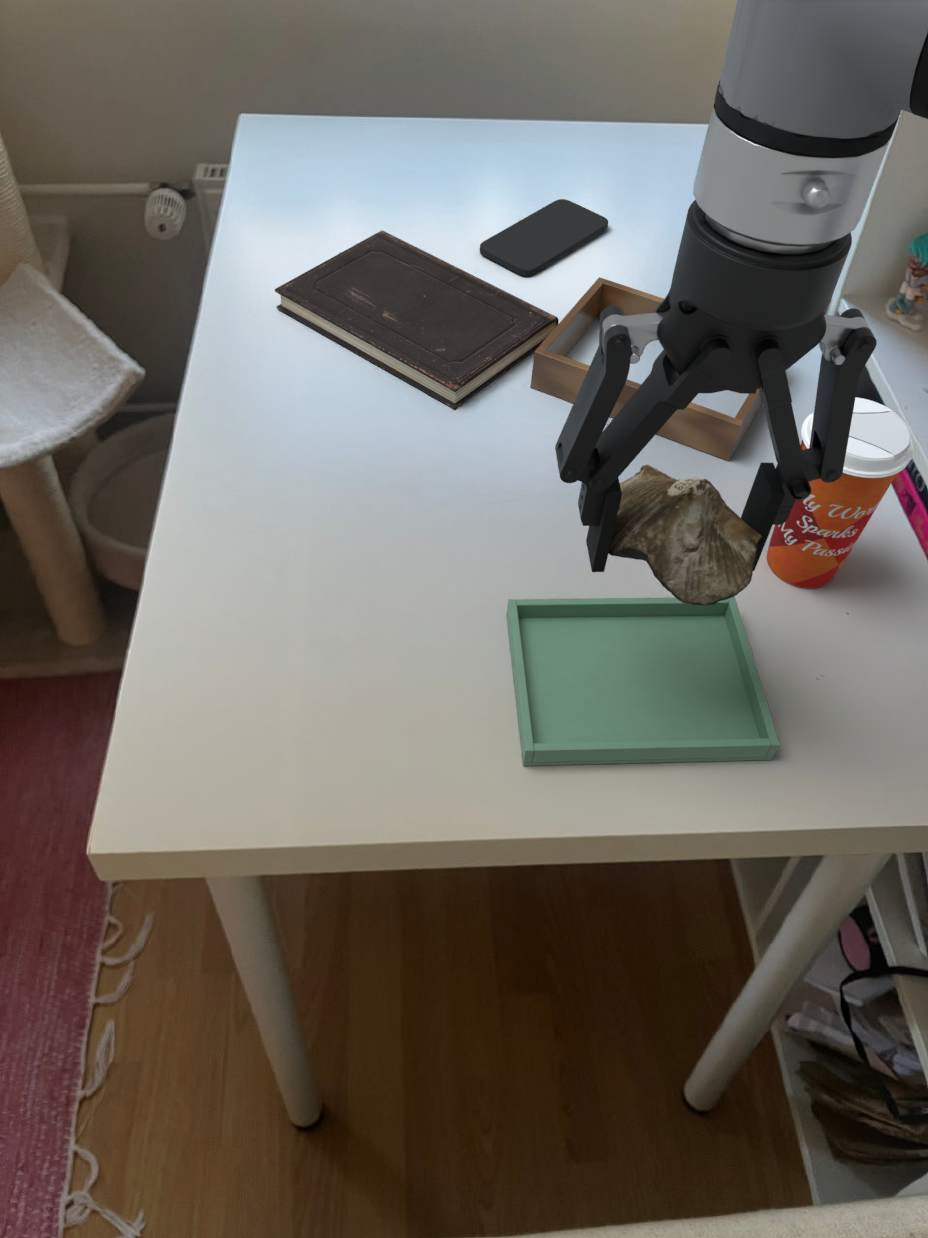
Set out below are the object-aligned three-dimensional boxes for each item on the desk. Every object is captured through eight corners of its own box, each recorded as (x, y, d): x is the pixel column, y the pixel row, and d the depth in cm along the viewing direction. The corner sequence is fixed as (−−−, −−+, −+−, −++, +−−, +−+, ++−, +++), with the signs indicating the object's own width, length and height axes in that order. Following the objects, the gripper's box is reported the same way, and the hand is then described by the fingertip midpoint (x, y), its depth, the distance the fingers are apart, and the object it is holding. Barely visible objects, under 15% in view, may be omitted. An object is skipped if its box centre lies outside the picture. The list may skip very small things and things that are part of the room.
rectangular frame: (778, 375, 97) (790, 340, 94) (728, 461, 88) (740, 425, 85) (593, 312, 102) (599, 276, 99) (529, 387, 94) (534, 351, 91)
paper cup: (750, 587, 79) (805, 450, 68) (755, 520, 84) (808, 383, 73) (851, 608, 78) (923, 473, 67) (850, 540, 83) (918, 403, 72)
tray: (728, 612, 77) (734, 596, 76) (772, 760, 69) (780, 745, 67) (506, 615, 76) (508, 599, 74) (522, 766, 67) (525, 750, 66)
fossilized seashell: (791, 561, 60) (685, 480, 67) (763, 500, 55) (651, 420, 62) (698, 647, 60) (602, 559, 67) (662, 595, 55) (561, 505, 62)
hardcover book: (454, 409, 91) (455, 389, 89) (276, 309, 100) (274, 288, 98) (557, 334, 99) (560, 314, 98) (385, 247, 108) (385, 227, 106)
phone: (474, 245, 108) (561, 196, 115) (474, 252, 108) (560, 203, 116) (528, 272, 105) (613, 220, 112) (527, 279, 105) (612, 227, 113)
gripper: (546, 254, 42) (503, 602, 60) (1033, 262, 44) (853, 599, 61) (529, 168, 47) (494, 513, 64) (969, 178, 49) (819, 513, 66)
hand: (669, 555), depth 63 cm, fingers closed on fossilized seashell, 9 cm apart
